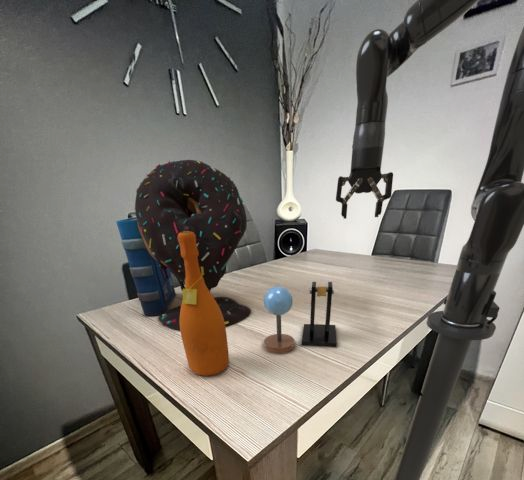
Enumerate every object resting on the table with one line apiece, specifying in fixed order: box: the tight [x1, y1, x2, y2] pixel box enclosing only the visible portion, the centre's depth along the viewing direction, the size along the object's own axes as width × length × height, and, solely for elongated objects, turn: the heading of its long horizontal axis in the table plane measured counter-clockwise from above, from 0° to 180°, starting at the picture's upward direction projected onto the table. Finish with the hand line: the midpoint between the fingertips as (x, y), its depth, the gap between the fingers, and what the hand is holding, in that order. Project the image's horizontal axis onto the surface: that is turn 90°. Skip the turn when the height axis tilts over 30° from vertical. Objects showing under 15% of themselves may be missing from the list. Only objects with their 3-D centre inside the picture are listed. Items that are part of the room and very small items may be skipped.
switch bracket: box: [300, 281, 338, 348], centre depth 72 cm, size 11×9×15 cm
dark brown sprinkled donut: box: [133, 159, 251, 331], centre depth 85 cm, size 30×32×45 cm
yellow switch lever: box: [316, 285, 328, 297], centre depth 75 cm, size 14×6×2 cm, turn 169°
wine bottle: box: [178, 231, 230, 377], centre depth 58 cm, size 10×10×30 cm
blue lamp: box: [263, 285, 296, 355], centre depth 68 cm, size 8×8×16 cm
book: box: [115, 216, 176, 317], centre depth 98 cm, size 24×9×30 cm, turn 5°
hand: (360, 217), depth 78 cm, fingers open, 8 cm apart
